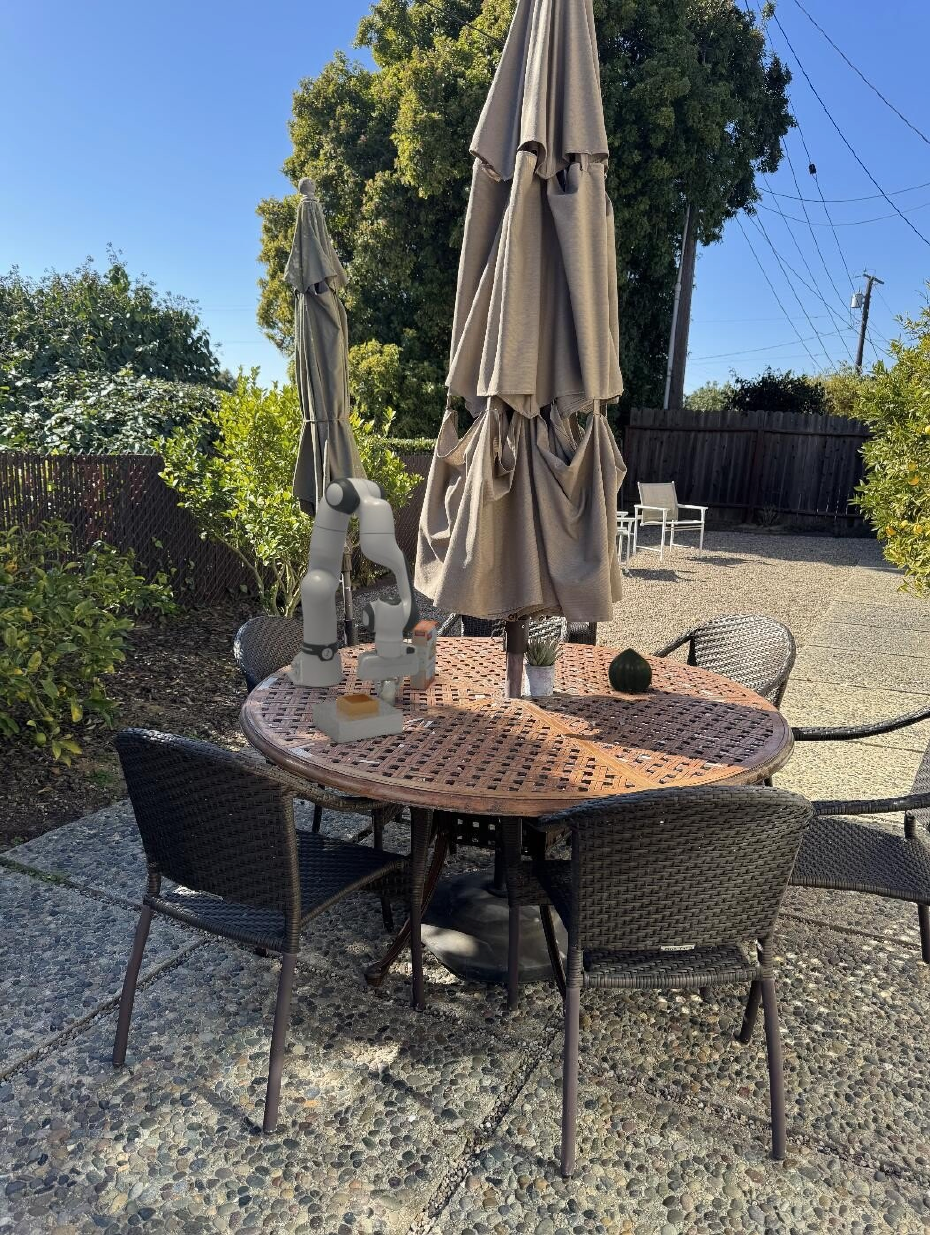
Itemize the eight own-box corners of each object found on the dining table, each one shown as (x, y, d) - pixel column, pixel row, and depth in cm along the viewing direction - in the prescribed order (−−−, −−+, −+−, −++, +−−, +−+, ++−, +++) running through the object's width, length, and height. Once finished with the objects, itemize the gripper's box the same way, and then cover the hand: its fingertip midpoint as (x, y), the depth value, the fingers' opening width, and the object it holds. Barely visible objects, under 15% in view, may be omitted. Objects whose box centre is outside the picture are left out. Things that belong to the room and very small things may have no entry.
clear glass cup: (376, 702, 272) (377, 677, 271) (390, 700, 275) (391, 676, 273) (383, 707, 268) (384, 682, 266) (397, 704, 271) (398, 680, 269)
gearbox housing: (312, 724, 253) (312, 694, 251) (373, 713, 264) (374, 685, 262) (338, 744, 238) (339, 712, 236) (402, 732, 249) (403, 702, 247)
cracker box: (426, 691, 288) (428, 630, 284) (409, 689, 289) (410, 628, 285) (436, 679, 302) (438, 621, 297) (419, 677, 303) (421, 619, 298)
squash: (636, 685, 286) (650, 646, 292) (595, 677, 295) (611, 640, 300) (648, 705, 296) (662, 667, 302) (609, 697, 305) (623, 661, 310)
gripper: (362, 653, 260) (361, 697, 263) (422, 647, 270) (420, 690, 273) (353, 648, 265) (352, 691, 268) (412, 642, 275) (410, 684, 278)
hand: (387, 690), depth 271 cm, fingers closed on clear glass cup, 5 cm apart
